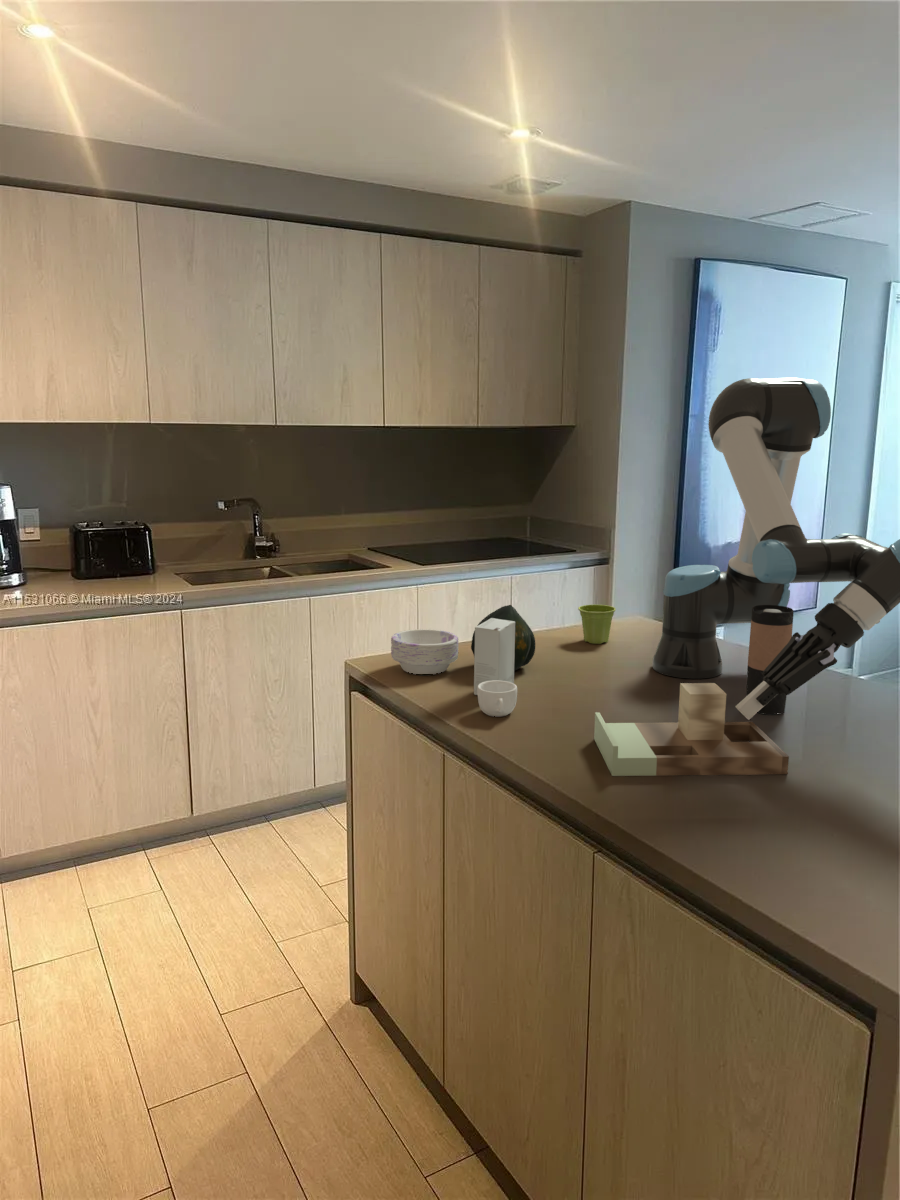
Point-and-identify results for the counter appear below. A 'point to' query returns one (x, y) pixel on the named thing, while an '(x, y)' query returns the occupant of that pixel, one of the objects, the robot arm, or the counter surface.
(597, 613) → the plant pot
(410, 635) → the paper bowls
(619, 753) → the pad
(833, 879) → the counter surface
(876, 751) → the counter surface
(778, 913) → the counter surface
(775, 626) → the travel mug
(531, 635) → the squash
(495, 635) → the skincare box
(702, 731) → the maple block
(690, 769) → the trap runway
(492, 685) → the teacup
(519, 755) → the counter surface
